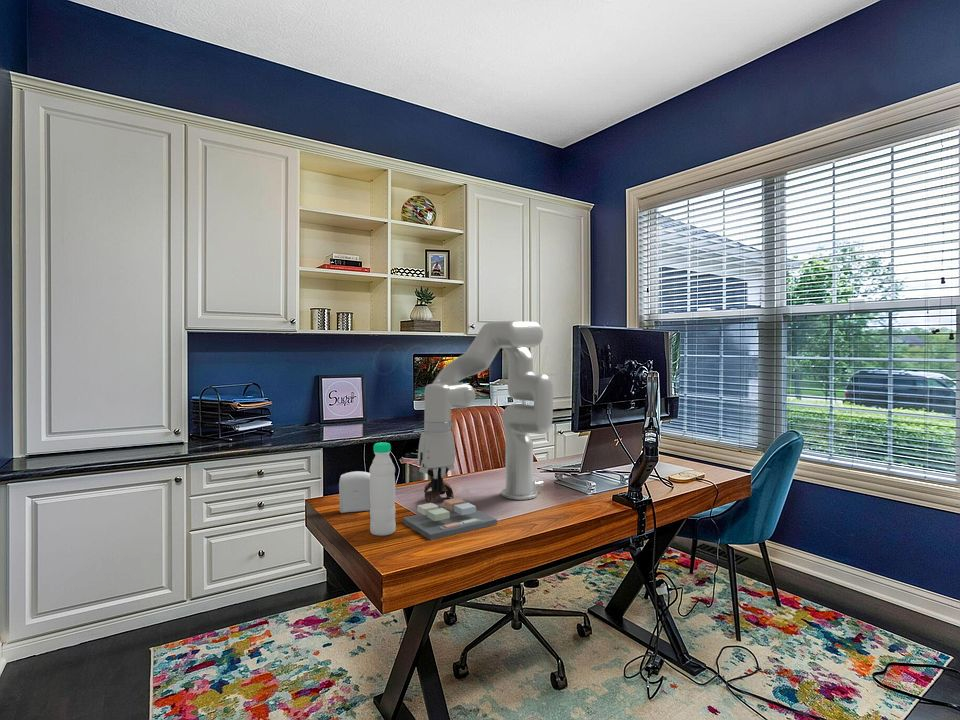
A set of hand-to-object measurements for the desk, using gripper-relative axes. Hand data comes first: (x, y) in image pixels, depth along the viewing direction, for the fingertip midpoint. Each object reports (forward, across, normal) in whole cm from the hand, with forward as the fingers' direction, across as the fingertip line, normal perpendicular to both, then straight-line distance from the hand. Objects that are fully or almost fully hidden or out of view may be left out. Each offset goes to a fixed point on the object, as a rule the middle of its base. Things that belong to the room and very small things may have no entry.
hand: (436, 491), depth 151 cm
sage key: (+8, -1, 0) cm, 8 cm away
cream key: (+8, -1, -6) cm, 10 cm away
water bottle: (+11, +14, -6) cm, 19 cm away
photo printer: (+11, +13, -29) cm, 34 cm away
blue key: (+7, -10, 0) cm, 12 cm away
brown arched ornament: (+10, -15, -24) cm, 30 cm away
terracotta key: (+7, -10, -6) cm, 14 cm away
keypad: (+10, -5, -2) cm, 12 cm away
